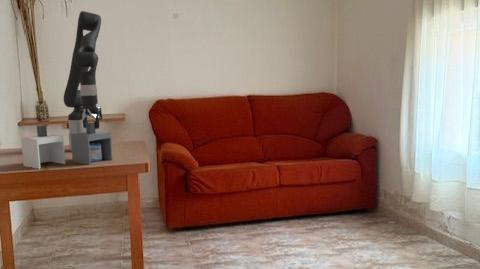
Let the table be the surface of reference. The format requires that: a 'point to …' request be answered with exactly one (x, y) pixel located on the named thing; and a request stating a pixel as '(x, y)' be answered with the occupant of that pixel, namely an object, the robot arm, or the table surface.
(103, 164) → the table surface
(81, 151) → the box
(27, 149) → the grey hood
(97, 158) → the medicine box
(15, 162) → the table surface
